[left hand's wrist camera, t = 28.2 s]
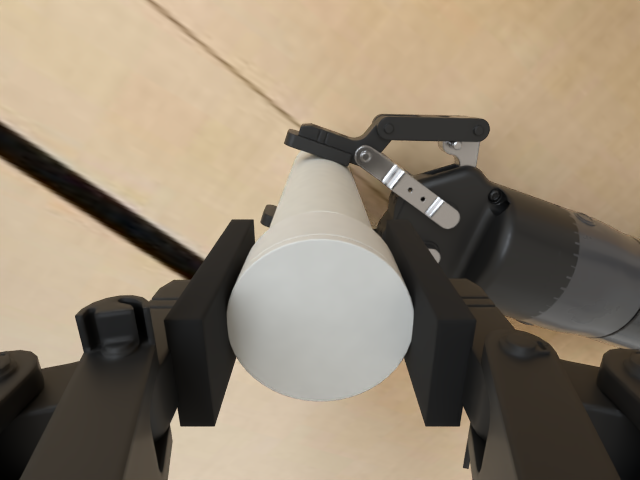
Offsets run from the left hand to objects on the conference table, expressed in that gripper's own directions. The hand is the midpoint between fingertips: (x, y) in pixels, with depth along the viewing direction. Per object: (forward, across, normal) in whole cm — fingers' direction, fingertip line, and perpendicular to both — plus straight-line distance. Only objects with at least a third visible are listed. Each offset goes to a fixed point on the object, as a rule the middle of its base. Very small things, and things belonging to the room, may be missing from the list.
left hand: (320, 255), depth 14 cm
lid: (-4, 0, 0) cm, 4 cm away
